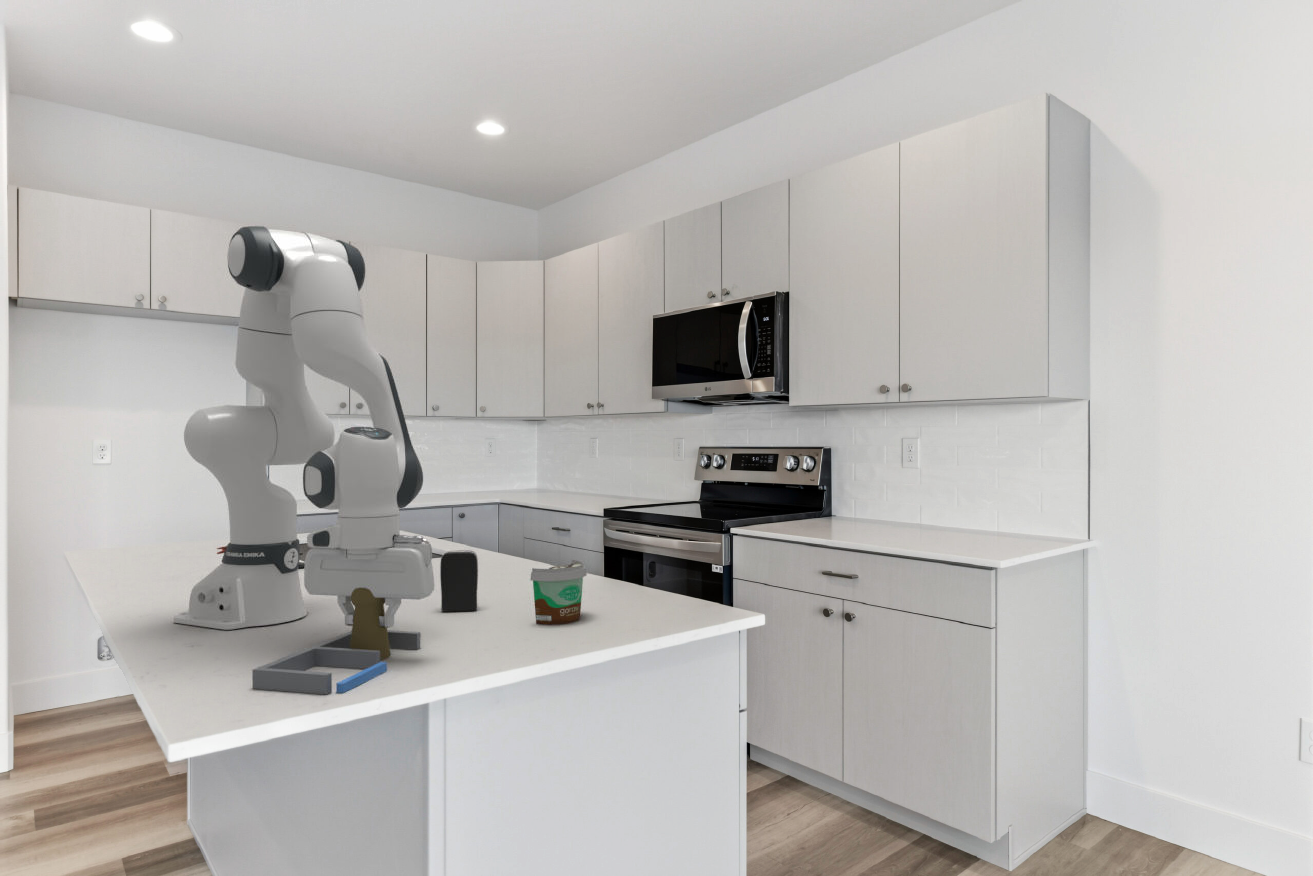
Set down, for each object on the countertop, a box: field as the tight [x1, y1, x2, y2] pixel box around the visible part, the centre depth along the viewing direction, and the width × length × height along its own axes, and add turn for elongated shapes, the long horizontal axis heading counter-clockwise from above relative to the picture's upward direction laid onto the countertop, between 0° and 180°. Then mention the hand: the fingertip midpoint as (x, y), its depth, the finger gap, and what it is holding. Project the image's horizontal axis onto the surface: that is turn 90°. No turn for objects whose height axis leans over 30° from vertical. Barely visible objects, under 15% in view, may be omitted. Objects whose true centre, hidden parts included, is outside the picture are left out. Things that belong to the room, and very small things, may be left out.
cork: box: [350, 588, 392, 661], centre depth 120 cm, size 6×6×11 cm
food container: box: [529, 559, 588, 626], centre depth 142 cm, size 12×6×10 cm, turn 148°
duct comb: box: [251, 629, 421, 695], centre depth 114 cm, size 13×23×2 cm, turn 166°
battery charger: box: [439, 549, 479, 613], centre depth 152 cm, size 7×4×11 cm, turn 98°
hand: (369, 626), depth 120 cm, fingers closed on cork, 4 cm apart
